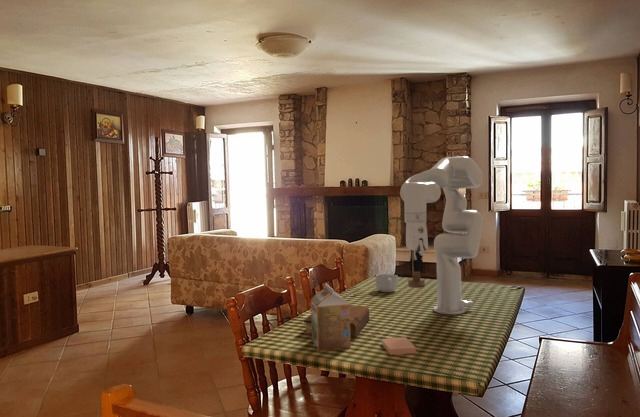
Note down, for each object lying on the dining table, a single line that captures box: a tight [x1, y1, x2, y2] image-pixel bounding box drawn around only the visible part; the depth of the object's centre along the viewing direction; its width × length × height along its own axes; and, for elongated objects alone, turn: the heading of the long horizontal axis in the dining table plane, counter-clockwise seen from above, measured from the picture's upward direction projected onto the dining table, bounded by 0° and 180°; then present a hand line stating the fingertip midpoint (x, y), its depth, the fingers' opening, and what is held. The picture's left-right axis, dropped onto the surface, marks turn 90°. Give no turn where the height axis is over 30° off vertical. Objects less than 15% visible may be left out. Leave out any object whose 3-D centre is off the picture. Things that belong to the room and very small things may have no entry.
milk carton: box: [310, 283, 352, 352], centre depth 153 cm, size 11×11×19 cm
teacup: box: [375, 273, 399, 293], centre depth 228 cm, size 14×11×8 cm
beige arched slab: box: [303, 305, 370, 339], centre depth 172 cm, size 23×19×6 cm
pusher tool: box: [407, 249, 426, 289], centre depth 163 cm, size 6×6×14 cm
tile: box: [381, 336, 417, 356], centre depth 147 cm, size 8×2×10 cm
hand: (416, 270), depth 163 cm, fingers closed on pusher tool, 2 cm apart
